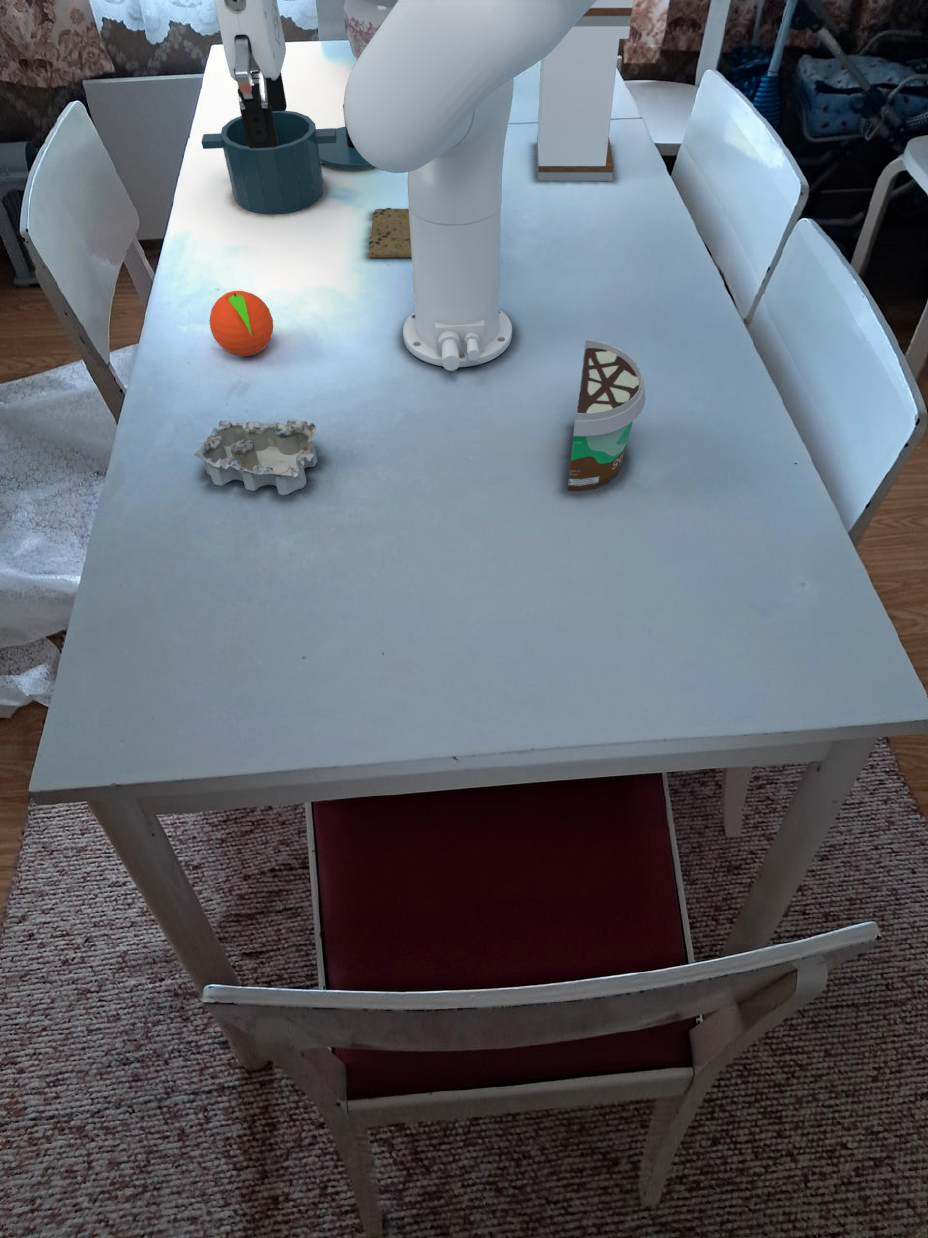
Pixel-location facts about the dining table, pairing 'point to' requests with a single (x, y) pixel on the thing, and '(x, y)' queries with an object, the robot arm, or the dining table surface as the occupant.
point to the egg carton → (260, 454)
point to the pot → (274, 164)
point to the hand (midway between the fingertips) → (268, 127)
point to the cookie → (390, 233)
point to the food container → (604, 415)
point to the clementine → (241, 323)
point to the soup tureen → (364, 21)
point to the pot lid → (342, 151)
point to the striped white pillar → (581, 96)
